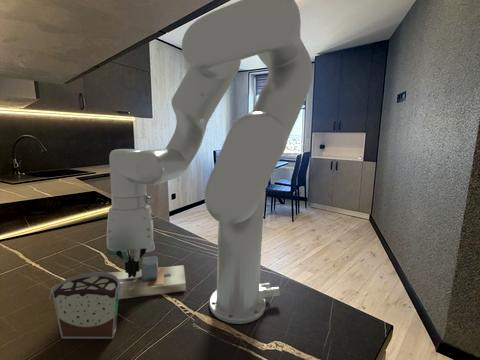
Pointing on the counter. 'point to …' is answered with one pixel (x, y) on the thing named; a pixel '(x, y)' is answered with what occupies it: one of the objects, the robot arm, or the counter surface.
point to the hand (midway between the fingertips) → (132, 274)
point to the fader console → (152, 282)
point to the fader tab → (149, 268)
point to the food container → (87, 305)
